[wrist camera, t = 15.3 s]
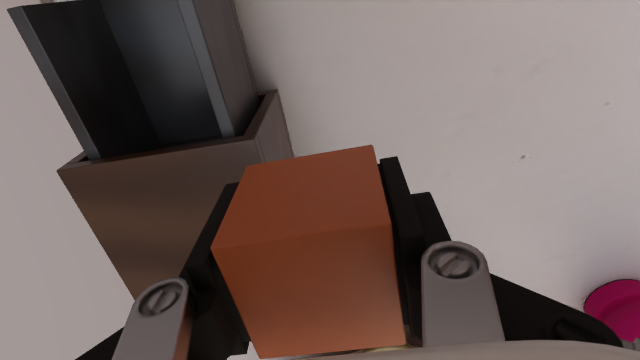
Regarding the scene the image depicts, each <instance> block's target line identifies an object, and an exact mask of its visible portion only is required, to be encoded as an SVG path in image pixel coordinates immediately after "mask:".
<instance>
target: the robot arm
mask: <svg viewBox="0 0 640 360" xmlns="http://www.w3.org/2000/svg"><path fill="white" fill-rule="evenodd" d="M377 165H378V169H379V173H380V177H381V182H382V186H383V190H384V194H385V199H386V203H387V207H388V211H389V215H390V220H391V224H392V232H393V240H394V254H395V262H396V270H397V278H398V286H399V294H400V302H401V309H402V317H403V324H404V325H409V328H410V332H411V337H417V338H418V339H420V340H421V341H422V342H423V347H421V348H410V349H399V350H388V351H377V352H366V353H356V354H345V355H334V356H323V357H312V358H302V359H292V360H640V339H639V338H636V337H635V340H634V343H632V342H629V341H626V340H623V339H619V337H618V336H617V335H616V334H615V332H614V331H613V330H612V329H610V328H609V327H608V326H607V325H605V324H604V323H603V322H602V321H600V320H598V319H596V318H594V317H592V316H590V315H588V314H586V313H583V312H581V311H579V310H576V309H574V308H571V307H569V306H567V305H564V304H562V303H560V302H557V301H555V300H552V299H550V298H548V297H545V296H543V295H541V294H538V293H536V292H533V291H531V290H529V289H526V288H524V287H522V286H519V285H517V284H514V283H512V282H510V281H507V280H505V279H503V278H500V277H498V276H495V275H493V274H491V273H489V269H488V265H487V261H486V259H485V257H484V255H483V254H482V253H481V252H480V251H479V250H478V249H477V248H475V247H473V246H471V245H469V244H466V243H463V242H457V241H452V240H451V238H450V236H449V234H448V231H447V229H446V227H445V225H444V222H443V220H442V218H441V216H440V213H439V211H438V209H437V207H436V204H435V202H434V200H433V198H432V195H431V194H430V192H424V193H417V194H410V191H409V189H408V186H407V183H406V180H405V177H404V174H403V172H402V169H401V166H400V163H399V160H398V157H397V156H396V157H390V158H384V159H380V164H377ZM238 185H239V182H235V183H229V184H226V185H225V187H224V189H223V191H222V193H221V194H220V196H219V198H218V200H217V202H216V204H215V206H214V208H213V210H212V212H211V214H210V216H209V218H208V220H207V222H206V224H205V226H204V228H203V229H202V231H201V233H200V235H199V237H198V239H197V241H196V243H195V245H194V247H193V249H192V251H191V253H190V255H189V257H188V259H187V261H186V263H185V265H184V267H183V269H182V271H181V273H180V275H179V277H171V278H166V279H163V280H160V281H158V282H156V283H154V284H152V285H151V286H149V287H148V288H147V289H145V290H144V291H143V292H142V293H141V294H140V295H139V296H138V297H137V299H136V300H135V302H134V304H133V306H132V308H131V311H130V314H129V316H128V319H127V322H126V324H125V326H124V327H123V328H122V329H120V330H119V331H117V332H116V333H114V334H113V335H111V336H110V337H108V338H107V339H105V340H104V341H102V342H101V343H99V344H98V345H97V346H95V347H93V348H92V349H90V350H89V351H87V352H86V353H84V354H83V355H82V356H80V357H78V358H77V359H75V360H227V358H228V357H229V356H231V355H241V354H247V350H248V346H249V341H251V339H250V336H249V334H248V332H247V330H246V327H245V325H244V323H243V321H242V318H241V316H240V314H239V312H238V309H237V307H236V305H235V303H234V301H233V298H232V296H231V294H230V292H229V289H228V287H227V285H226V283H225V280H224V278H223V276H222V274H221V271H220V269H219V267H218V265H217V262H216V260H215V258H214V256H213V253H212V251H211V245H212V243H213V241H214V238H215V236H216V234H217V232H218V230H219V227H220V225H221V223H222V221H223V218H224V216H225V214H226V212H227V209H228V207H229V205H230V203H231V200H232V198H233V196H234V194H235V191H236V189H237V187H238Z"/></svg>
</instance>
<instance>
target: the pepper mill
mask: <svg viewBox="0 0 640 360" xmlns="http://www.w3.org/2000/svg"><path fill="white" fill-rule="evenodd" d="M584 309H585V313H586V314H588V315H590V316H592V317H594V318H596V319H598V320H600V321H602V322H603V323H604V324H605V325H607V326H608V327H609V328H610V329H612V330H613V331H614V332H615V334H616V335H617V336H618V337H619V339H623V340H626V341H629V342H632V343H634V340H635V337H636V338H639V339H640V281H635V280H619V281H615V282H611V283H609V284H606V285H604V286H602V287H600V288H598V289H597V290H596V291H594V292H593V293H592V294H591V295H590V296H589V298H588V299H587V301H586V303H585V306H584Z"/></svg>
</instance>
